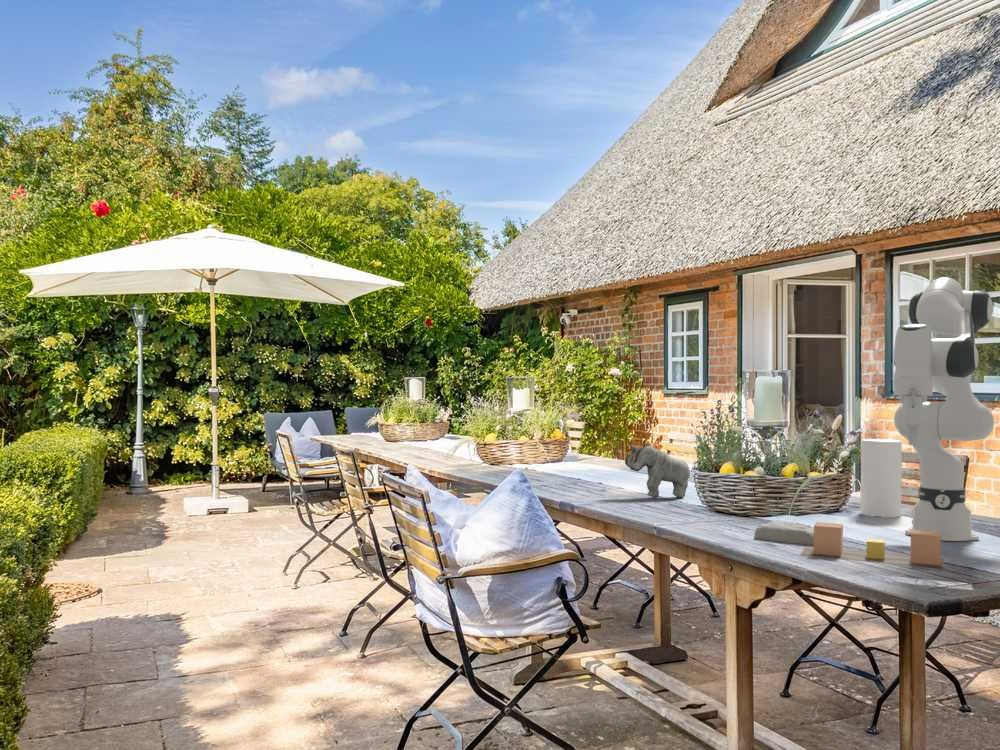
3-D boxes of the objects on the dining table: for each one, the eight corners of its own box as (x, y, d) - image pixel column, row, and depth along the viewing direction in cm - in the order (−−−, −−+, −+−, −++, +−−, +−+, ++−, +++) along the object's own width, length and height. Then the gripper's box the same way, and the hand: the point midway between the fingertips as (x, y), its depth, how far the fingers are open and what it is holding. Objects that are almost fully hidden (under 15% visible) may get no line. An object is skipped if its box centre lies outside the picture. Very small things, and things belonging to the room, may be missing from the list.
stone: (752, 543, 235) (752, 524, 235) (768, 535, 248) (769, 517, 248) (832, 554, 223) (833, 533, 223) (846, 545, 236) (846, 525, 236)
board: (805, 550, 225) (805, 546, 225) (942, 563, 211) (942, 558, 211) (800, 559, 213) (800, 555, 213) (944, 573, 199) (944, 568, 199)
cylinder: (909, 516, 283) (910, 441, 284) (876, 518, 280) (877, 441, 281) (883, 511, 296) (884, 438, 296) (852, 512, 293) (853, 439, 293)
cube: (867, 554, 214) (867, 538, 214) (884, 556, 213) (884, 540, 213) (866, 557, 211) (866, 541, 211) (884, 559, 209) (884, 542, 209)
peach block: (816, 549, 221) (816, 522, 221) (842, 551, 218) (843, 524, 218) (813, 553, 215) (813, 525, 215) (841, 556, 212) (841, 527, 212)
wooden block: (910, 557, 211) (910, 529, 211) (939, 560, 209) (939, 531, 209) (910, 562, 206) (910, 533, 206) (940, 565, 203) (940, 535, 203)
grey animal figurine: (683, 495, 329) (684, 443, 329) (692, 499, 320) (693, 445, 320) (621, 496, 324) (621, 443, 324) (628, 500, 315) (629, 445, 315)
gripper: (928, 389, 203) (927, 447, 203) (926, 388, 222) (925, 442, 222) (898, 388, 206) (898, 446, 206) (899, 388, 224) (898, 441, 224)
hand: (912, 444), depth 214 cm, fingers open, 8 cm apart
